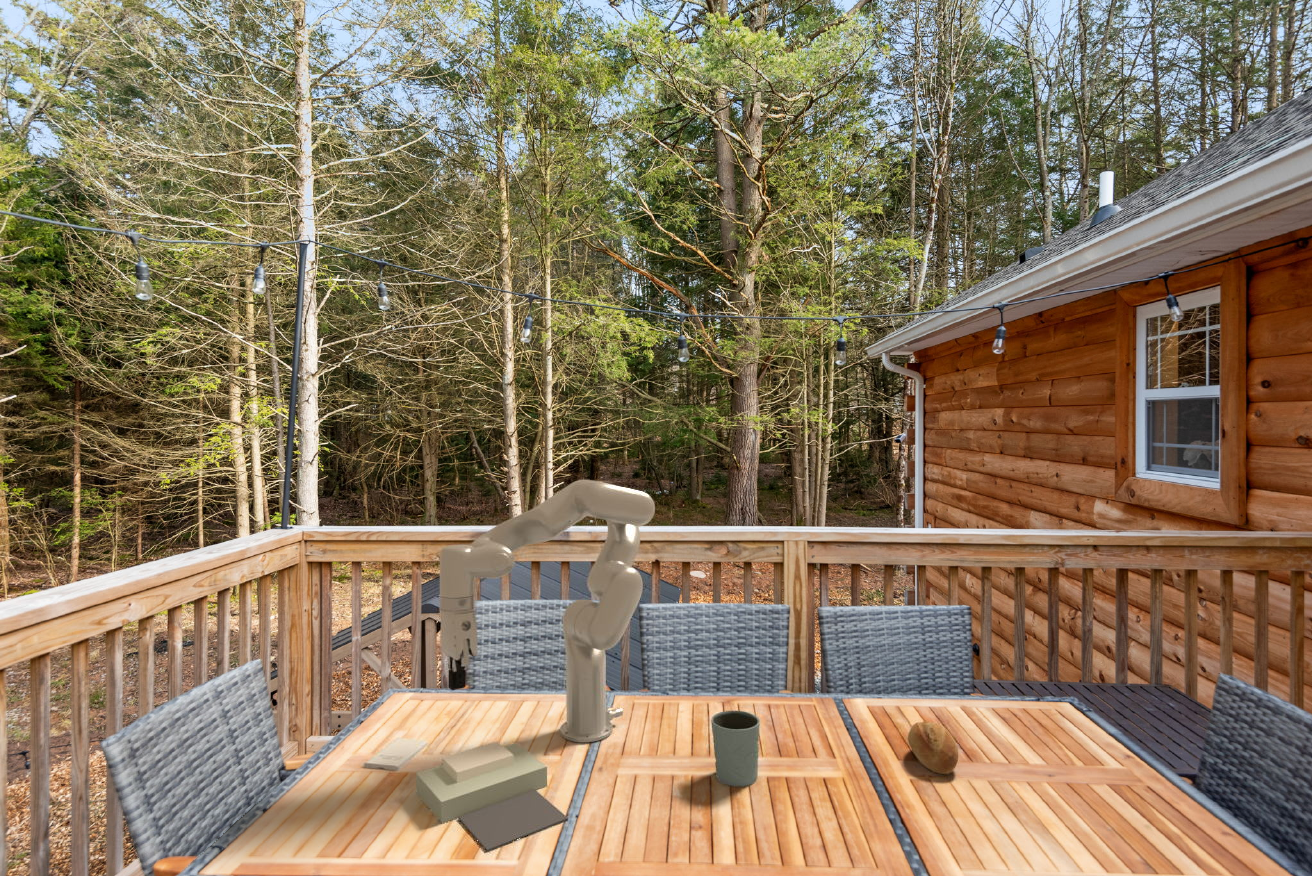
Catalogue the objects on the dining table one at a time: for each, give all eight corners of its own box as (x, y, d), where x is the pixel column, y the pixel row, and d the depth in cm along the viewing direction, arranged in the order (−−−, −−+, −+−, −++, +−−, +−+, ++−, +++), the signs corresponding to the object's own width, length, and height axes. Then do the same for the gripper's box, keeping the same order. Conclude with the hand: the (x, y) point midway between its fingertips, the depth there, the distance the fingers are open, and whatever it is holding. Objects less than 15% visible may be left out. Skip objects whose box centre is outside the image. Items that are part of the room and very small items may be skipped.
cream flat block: (497, 750, 149) (496, 741, 149) (513, 764, 142) (513, 754, 142) (442, 767, 141) (442, 757, 141) (457, 782, 135) (457, 772, 135)
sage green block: (516, 760, 152) (516, 742, 152) (547, 786, 141) (547, 766, 141) (416, 792, 139) (416, 773, 139) (441, 823, 128) (441, 802, 128)
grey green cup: (758, 791, 139) (758, 731, 139) (708, 786, 141) (708, 727, 141) (761, 767, 149) (760, 711, 149) (714, 763, 151) (714, 708, 151)
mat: (535, 791, 139) (535, 789, 139) (568, 820, 129) (568, 817, 129) (458, 819, 129) (458, 817, 129) (487, 852, 119) (487, 849, 119)
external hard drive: (428, 747, 161) (398, 773, 148) (396, 744, 162) (363, 769, 150) (428, 740, 161) (398, 765, 148) (396, 737, 162) (363, 762, 150)
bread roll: (920, 778, 144) (920, 740, 144) (900, 746, 159) (900, 711, 158) (967, 780, 143) (967, 741, 143) (943, 747, 158) (943, 712, 158)
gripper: (488, 607, 146) (487, 694, 146) (461, 594, 158) (460, 675, 158) (453, 612, 141) (453, 702, 141) (428, 598, 153) (427, 681, 153)
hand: (457, 687), depth 149 cm, fingers closed
